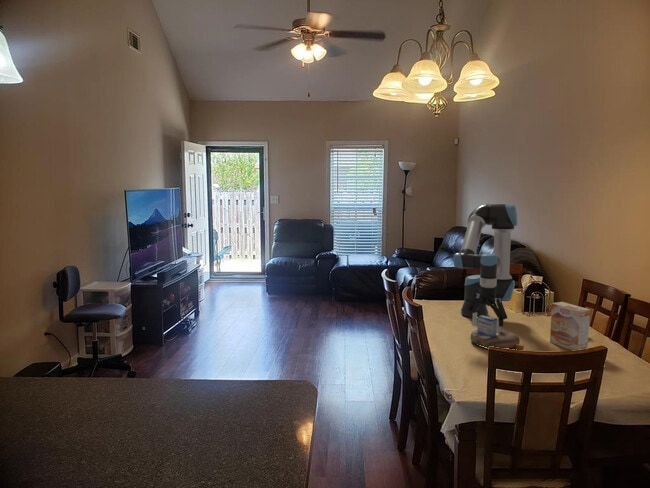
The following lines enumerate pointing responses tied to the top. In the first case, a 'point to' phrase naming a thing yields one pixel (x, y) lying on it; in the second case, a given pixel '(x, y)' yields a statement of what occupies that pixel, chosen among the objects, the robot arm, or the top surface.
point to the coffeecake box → (569, 326)
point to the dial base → (518, 347)
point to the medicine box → (487, 326)
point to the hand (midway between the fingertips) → (486, 328)
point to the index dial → (496, 339)
